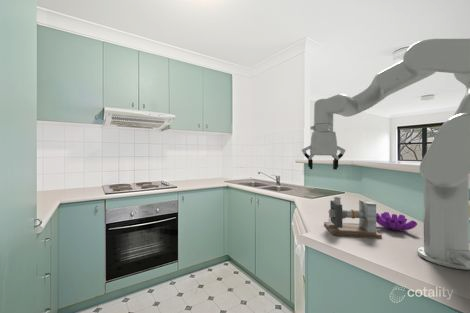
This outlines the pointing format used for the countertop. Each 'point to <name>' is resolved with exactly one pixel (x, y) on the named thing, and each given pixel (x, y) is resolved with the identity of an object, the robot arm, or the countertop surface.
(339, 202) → the flask
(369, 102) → the robot arm
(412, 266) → the countertop surface
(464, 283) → the countertop surface
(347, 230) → the pipe stand
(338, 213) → the dark grey square panel
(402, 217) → the purple lumpy piece
